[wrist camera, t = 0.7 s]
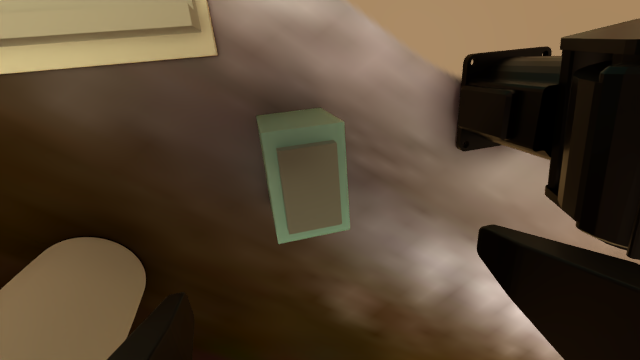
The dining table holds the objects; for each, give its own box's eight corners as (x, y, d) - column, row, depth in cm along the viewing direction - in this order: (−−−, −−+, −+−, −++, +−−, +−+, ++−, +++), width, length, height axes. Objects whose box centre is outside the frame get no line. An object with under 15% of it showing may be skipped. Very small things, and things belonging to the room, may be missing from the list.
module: (255, 115, 19) (261, 136, 13) (320, 107, 19) (348, 124, 14) (270, 204, 21) (279, 250, 16) (327, 193, 22) (353, 235, 16)
